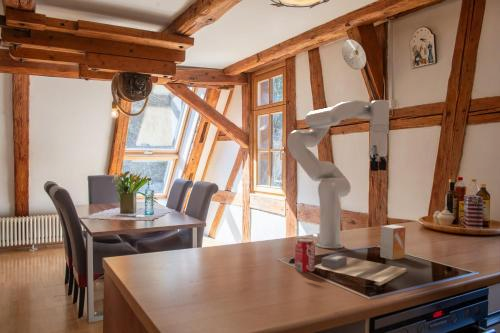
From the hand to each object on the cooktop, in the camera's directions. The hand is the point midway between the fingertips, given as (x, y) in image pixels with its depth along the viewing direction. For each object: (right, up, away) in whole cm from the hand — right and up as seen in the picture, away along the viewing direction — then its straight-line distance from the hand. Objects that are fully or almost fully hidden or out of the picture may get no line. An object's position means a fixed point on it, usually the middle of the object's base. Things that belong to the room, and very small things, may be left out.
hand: (378, 170), depth 172 cm
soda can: (-35, -37, -26) cm, 56 cm away
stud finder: (-23, -35, -20) cm, 46 cm away
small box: (+5, -36, -2) cm, 37 cm away
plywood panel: (-14, -37, -22) cm, 45 cm away
